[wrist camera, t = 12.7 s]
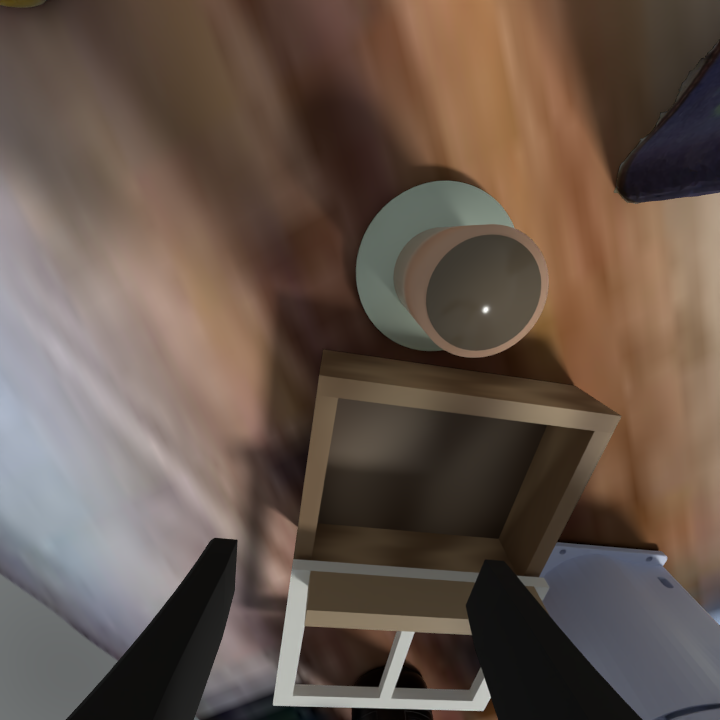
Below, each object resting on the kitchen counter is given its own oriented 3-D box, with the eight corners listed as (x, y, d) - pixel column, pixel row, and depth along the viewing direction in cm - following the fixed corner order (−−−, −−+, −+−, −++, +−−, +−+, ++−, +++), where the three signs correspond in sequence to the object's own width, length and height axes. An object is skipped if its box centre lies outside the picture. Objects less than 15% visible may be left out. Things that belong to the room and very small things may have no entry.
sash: (544, 577, 20) (572, 625, 18) (480, 699, 24) (495, 751, 22) (293, 559, 18) (285, 608, 16) (274, 693, 23) (266, 748, 20)
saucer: (534, 201, 16) (544, 199, 15) (484, 355, 19) (490, 360, 18) (371, 167, 15) (373, 163, 14) (344, 334, 18) (344, 339, 17)
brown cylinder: (493, 233, 16) (569, 234, 10) (470, 324, 17) (526, 364, 12) (401, 220, 15) (432, 214, 10) (386, 314, 17) (407, 351, 11)
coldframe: (575, 385, 20) (621, 416, 16) (504, 545, 24) (530, 594, 21) (323, 349, 18) (319, 375, 15) (298, 527, 23) (290, 578, 19)
